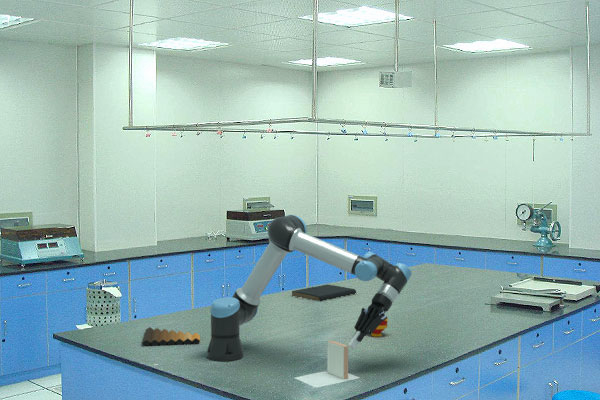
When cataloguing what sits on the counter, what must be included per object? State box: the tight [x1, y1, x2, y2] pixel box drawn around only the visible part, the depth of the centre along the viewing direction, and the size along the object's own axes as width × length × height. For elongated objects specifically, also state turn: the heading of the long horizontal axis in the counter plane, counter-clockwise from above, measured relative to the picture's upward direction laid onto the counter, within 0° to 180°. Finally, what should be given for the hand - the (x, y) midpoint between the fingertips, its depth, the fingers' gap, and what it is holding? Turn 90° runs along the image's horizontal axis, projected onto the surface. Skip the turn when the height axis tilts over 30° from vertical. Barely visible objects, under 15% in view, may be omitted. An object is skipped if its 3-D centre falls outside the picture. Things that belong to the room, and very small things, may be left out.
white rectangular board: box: [294, 370, 361, 389], centre depth 249 cm, size 20×14×1 cm
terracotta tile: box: [326, 340, 349, 379], centre depth 251 cm, size 2×10×12 cm, turn 35°
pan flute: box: [141, 326, 201, 347], centre depth 310 cm, size 25×3×25 cm
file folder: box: [291, 284, 357, 302], centre depth 417 cm, size 33×4×24 cm
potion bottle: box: [370, 317, 389, 338], centre depth 315 cm, size 10×10×15 cm
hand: (351, 347), depth 254 cm, fingers closed
